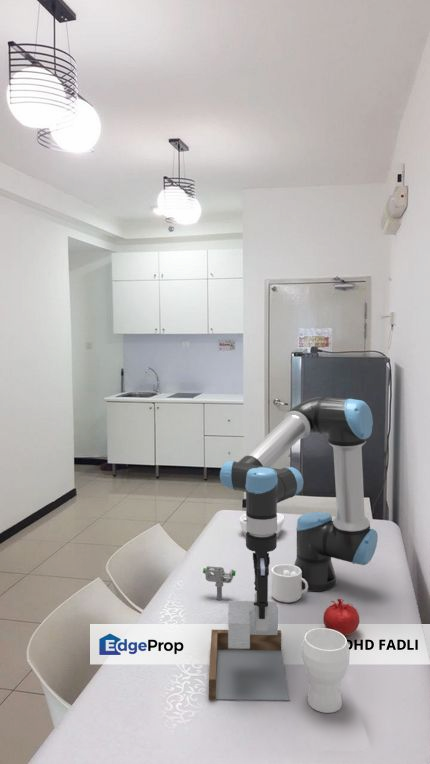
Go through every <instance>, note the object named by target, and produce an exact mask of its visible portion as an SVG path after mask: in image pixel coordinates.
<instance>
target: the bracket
mask: <svg viewBox="0 0 430 764" xmlns="http://www.w3.org/2000/svg"><path fill="white" fill-rule="evenodd" d="M254 602H257V601H255V600H228V604H227V607H228V610H227V612H228V613H227V614H228V618H227V619H228V620H227V621H228V622H227V623H228V624H227V627H228V628H227V630H228V648H246V649H250V635H278V630H279V629H278V626H279V625H278V623H279V622H278V621H279V619H278V617H279V614H278V613H279V611H278V610H279V609H278V605H277V601H270V600H268V607H267V631H261V630H256V606H254Z"/></svg>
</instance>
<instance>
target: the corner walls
mask: <svg viewBox="0 0 430 764" xmlns="http://www.w3.org/2000/svg"><path fill="white" fill-rule="evenodd" d="M210 633H211V635H210V649H209V650H210V651H209V666H208V667H209V669H208V700H209V701H217V700H216V678H217V650H281V651H282V630H281V629H278V635H250V649H246V648H228V629H211V632H210Z"/></svg>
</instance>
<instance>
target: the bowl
mask: <svg viewBox="0 0 430 764" xmlns="http://www.w3.org/2000/svg"><path fill="white" fill-rule="evenodd" d="M245 518H246V512H245V513H243V514H242V515H241V516H240V517H239V520H238V521H239V524H240V527H241V529H242V533H243V535H244V537H245V538H246V533H247V530H246V523H247V522H244V519H245ZM285 518H286V517H285V515H284V514H281V513H279V512H277V531H276V532H275V533H276V534H277V538H278V537H280V533H281V530H282V528H283V526H284V523H285Z"/></svg>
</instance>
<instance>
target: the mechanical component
mask: <svg viewBox="0 0 430 764" xmlns="http://www.w3.org/2000/svg"><path fill="white" fill-rule="evenodd" d="M202 573H203V574H205V575H204V576H205V580H206V581H207V582H212V583H215V584H214V585H215V587H216V600H217V599H218V600H217V601H221V600H222V599H223V592H222V591H223V587H224V583H225V584H230V583H232V581H233V578H234V577H235V576H236V570H234V569H233V568H231V569H230V571H229V572H226V571H225V568H224V567H222V566H210V565H209V566H208V565H206V567H203V570H202ZM221 598H222V599H221Z"/></svg>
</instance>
